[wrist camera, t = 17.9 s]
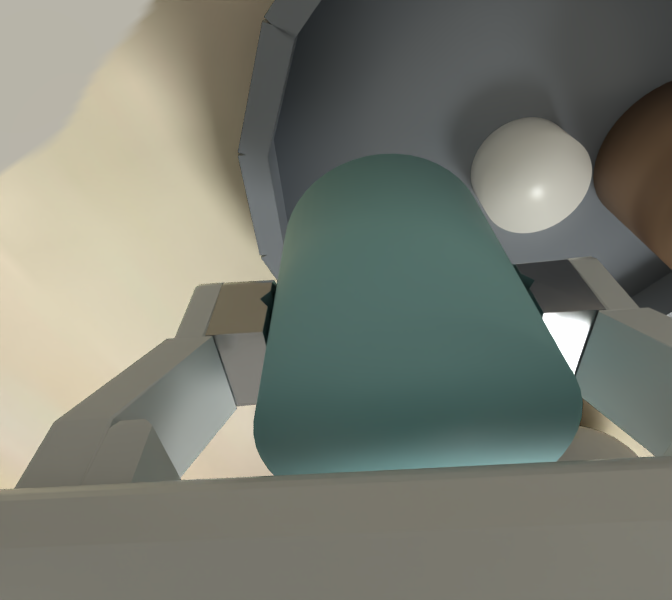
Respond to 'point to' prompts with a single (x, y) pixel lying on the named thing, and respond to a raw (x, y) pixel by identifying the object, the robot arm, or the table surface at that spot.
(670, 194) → the walnut bead
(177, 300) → the table surface
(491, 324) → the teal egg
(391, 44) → the groove tray
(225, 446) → the table surface
